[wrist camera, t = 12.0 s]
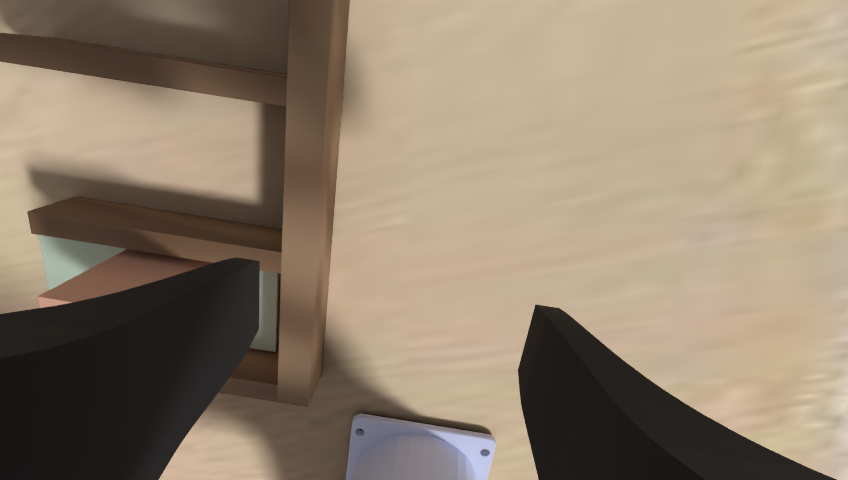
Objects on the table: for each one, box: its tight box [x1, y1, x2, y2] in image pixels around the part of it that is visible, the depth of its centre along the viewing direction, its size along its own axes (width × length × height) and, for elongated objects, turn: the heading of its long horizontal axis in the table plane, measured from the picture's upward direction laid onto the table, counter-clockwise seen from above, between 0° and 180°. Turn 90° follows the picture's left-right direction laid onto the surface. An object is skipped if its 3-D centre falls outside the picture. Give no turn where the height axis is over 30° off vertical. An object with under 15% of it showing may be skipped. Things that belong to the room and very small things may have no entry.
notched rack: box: [0, 0, 350, 407], centre depth 19 cm, size 22×14×2 cm, turn 172°
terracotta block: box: [38, 249, 212, 308], centre depth 19 cm, size 4×4×6 cm
